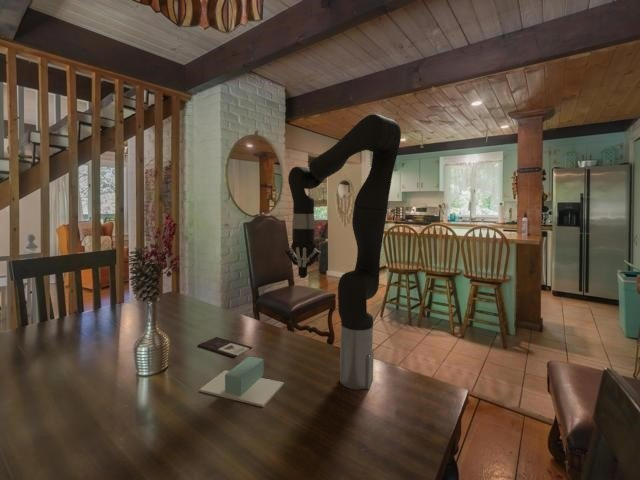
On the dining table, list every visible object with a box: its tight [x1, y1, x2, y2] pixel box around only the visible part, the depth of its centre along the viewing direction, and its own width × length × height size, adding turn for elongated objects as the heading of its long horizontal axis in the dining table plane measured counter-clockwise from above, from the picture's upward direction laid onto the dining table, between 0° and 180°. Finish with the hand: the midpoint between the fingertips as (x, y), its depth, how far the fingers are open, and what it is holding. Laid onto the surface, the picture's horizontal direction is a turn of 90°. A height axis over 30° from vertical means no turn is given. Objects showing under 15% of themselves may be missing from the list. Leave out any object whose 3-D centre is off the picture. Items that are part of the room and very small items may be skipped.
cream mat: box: [198, 369, 285, 408], centre depth 92 cm, size 20×12×1 cm, turn 70°
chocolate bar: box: [197, 336, 253, 359], centre depth 119 cm, size 9×1×18 cm
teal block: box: [225, 356, 265, 396], centre depth 94 cm, size 5×5×12 cm
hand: (303, 277), depth 113 cm, fingers closed
